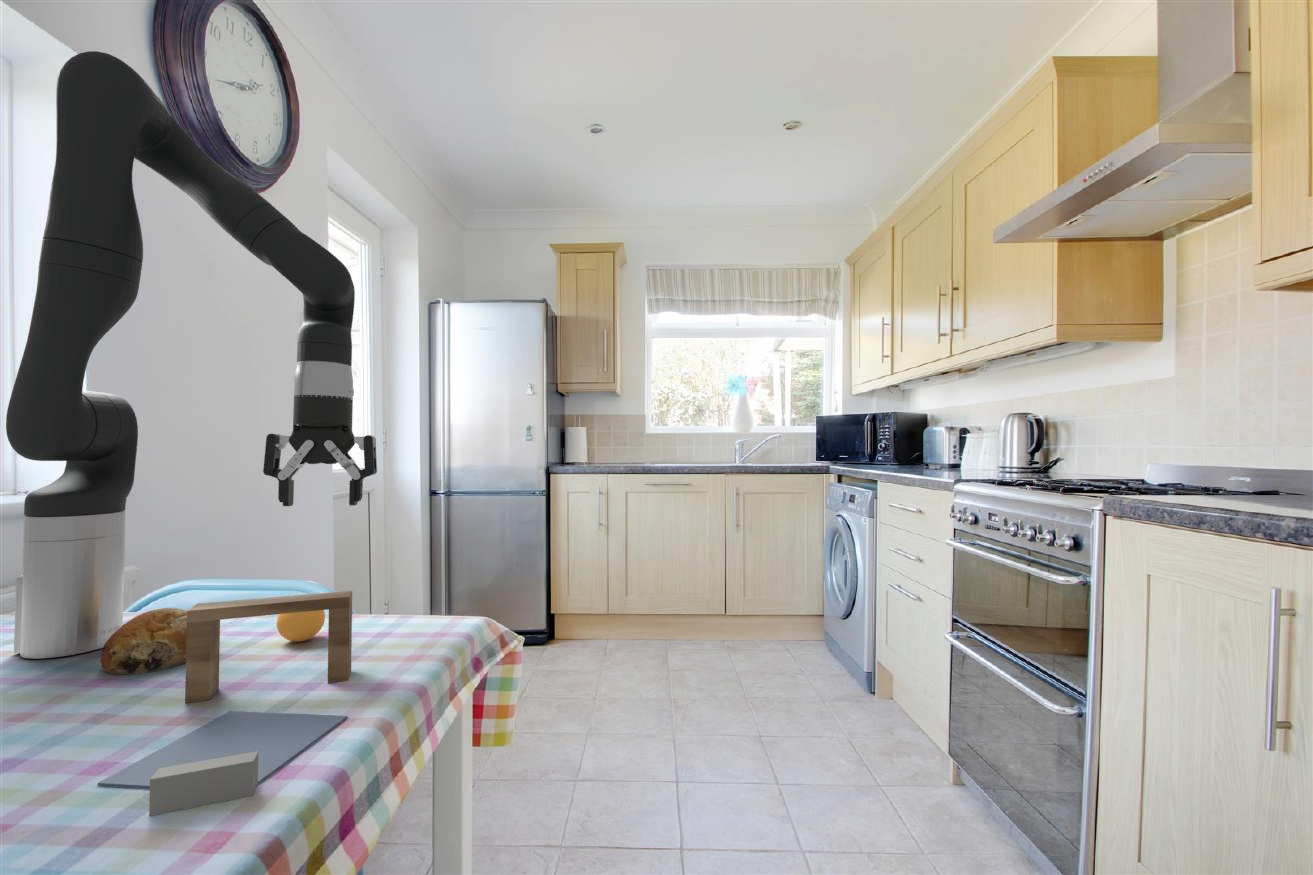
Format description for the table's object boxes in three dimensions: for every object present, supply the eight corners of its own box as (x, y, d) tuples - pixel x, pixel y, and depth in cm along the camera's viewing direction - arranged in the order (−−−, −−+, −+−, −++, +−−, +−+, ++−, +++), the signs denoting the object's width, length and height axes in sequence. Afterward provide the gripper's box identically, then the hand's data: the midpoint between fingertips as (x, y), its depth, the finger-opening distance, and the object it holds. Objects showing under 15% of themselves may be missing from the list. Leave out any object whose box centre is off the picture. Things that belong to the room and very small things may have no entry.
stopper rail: (158, 803, 41) (158, 768, 41) (257, 784, 43) (258, 750, 43) (149, 815, 39) (150, 779, 39) (252, 795, 42) (253, 760, 42)
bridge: (195, 691, 60) (197, 603, 60) (351, 670, 66) (352, 590, 66) (185, 703, 57) (186, 610, 57) (348, 680, 63) (349, 596, 63)
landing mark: (97, 785, 43) (97, 782, 43) (229, 712, 55) (229, 710, 55) (245, 793, 42) (245, 790, 42) (347, 717, 54) (347, 715, 54)
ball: (265, 646, 74) (266, 604, 74) (296, 633, 79) (296, 593, 79) (306, 648, 73) (306, 605, 73) (333, 634, 79) (334, 594, 79)
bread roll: (217, 681, 72) (241, 616, 75) (145, 675, 63) (176, 601, 66) (146, 678, 73) (173, 614, 76) (65, 671, 64) (99, 598, 67)
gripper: (258, 390, 78) (254, 509, 78) (371, 394, 82) (369, 507, 82) (277, 396, 85) (275, 504, 85) (381, 399, 89) (379, 502, 89)
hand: (321, 505), depth 83 cm, fingers open, 8 cm apart
